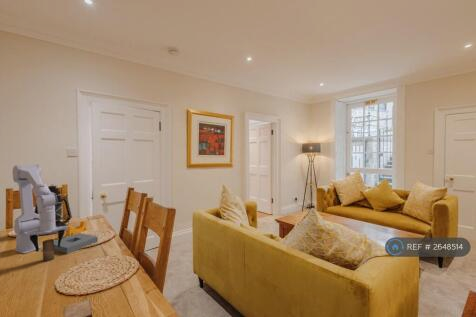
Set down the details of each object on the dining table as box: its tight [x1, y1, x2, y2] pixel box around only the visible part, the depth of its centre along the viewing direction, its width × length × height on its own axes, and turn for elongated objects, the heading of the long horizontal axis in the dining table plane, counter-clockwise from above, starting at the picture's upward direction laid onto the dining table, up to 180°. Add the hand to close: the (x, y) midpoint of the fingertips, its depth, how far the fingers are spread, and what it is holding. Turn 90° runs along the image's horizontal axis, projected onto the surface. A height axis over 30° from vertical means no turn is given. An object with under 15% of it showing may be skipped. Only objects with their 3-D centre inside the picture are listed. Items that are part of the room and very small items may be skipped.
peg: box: [42, 238, 55, 262], centre depth 106 cm, size 4×4×9 cm
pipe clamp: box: [65, 220, 88, 237], centre depth 140 cm, size 12×4×6 cm, turn 169°
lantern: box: [32, 185, 73, 236], centre depth 145 cm, size 20×16×30 cm
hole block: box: [54, 232, 99, 255], centre depth 123 cm, size 16×16×3 cm
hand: (48, 248), depth 106 cm, fingers open, 7 cm apart
